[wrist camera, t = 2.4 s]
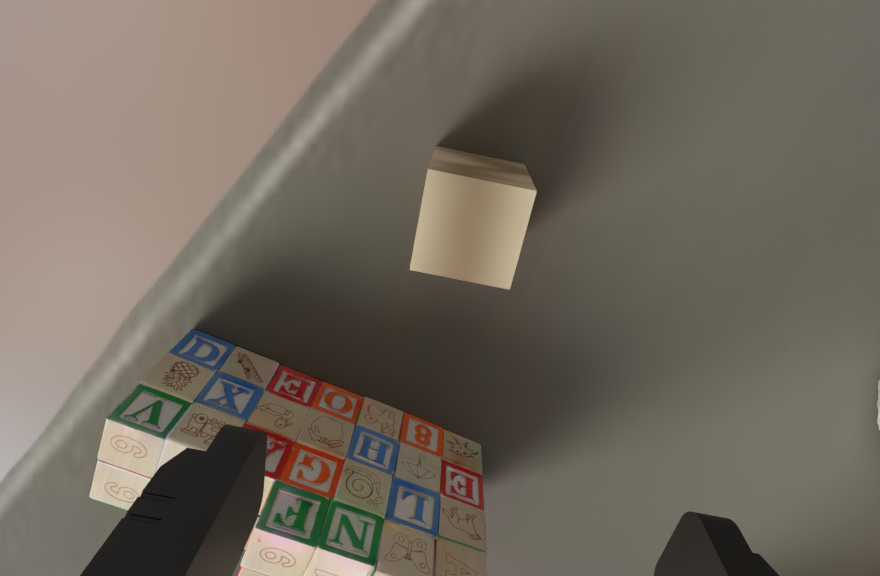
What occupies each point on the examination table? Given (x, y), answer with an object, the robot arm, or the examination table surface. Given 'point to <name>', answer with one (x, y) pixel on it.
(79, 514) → the examination table surface
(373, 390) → the examination table surface
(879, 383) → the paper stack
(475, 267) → the birch block
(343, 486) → the stack of blocks
